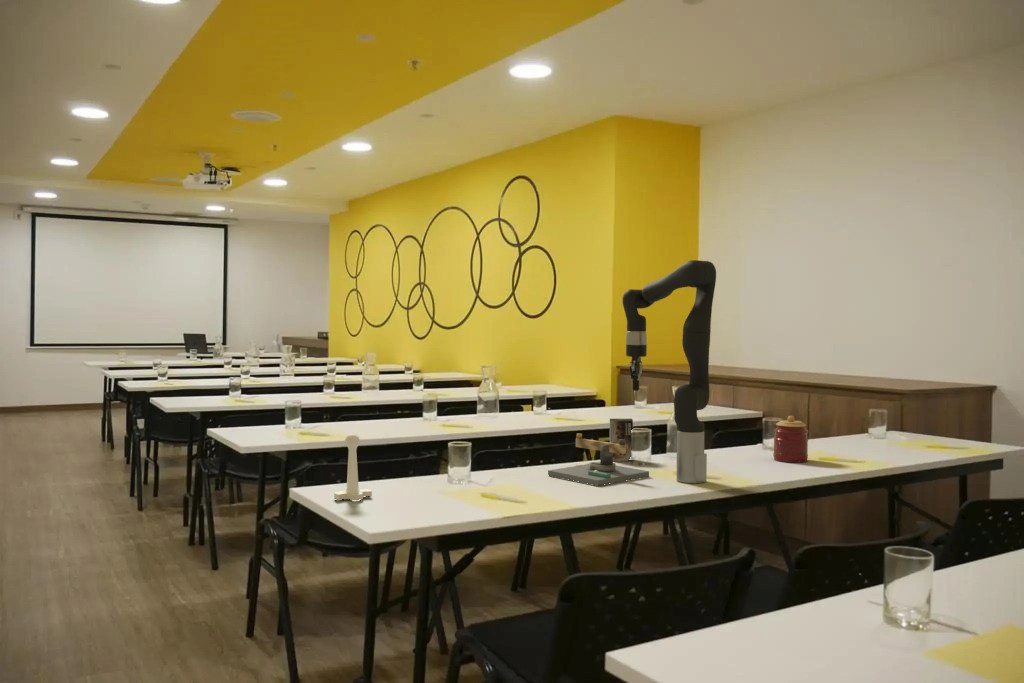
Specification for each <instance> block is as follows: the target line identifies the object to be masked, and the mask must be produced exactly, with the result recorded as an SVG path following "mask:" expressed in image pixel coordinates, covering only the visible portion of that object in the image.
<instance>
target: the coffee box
mask: <svg viewBox="0 0 1024 683" xmlns="http://www.w3.org/2000/svg"><path fill="white" fill-rule="evenodd" d="M632 429H633V430H634V421H633V418H609V443H616V444H619V439H625V445H626V454H618V453H613V462H629V461H628V460H629V459H630V457H631V430H632Z"/></svg>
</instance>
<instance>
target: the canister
mask: <svg viewBox="0 0 1024 683" xmlns="http://www.w3.org/2000/svg"><path fill="white" fill-rule="evenodd" d="M775 426H776V428H774V429H773V432H774V437H773V459H774V460H775V461H777V462H781V463H794V464H795V463H796V464H797V463H798V464H799V463H806V462H808V459H809V457H808V456H809V454H808V453H809V452H808V449H809V448H808V446H809V444H808V443H809V438H808V433H809V430H808V429H807V428H806V426H807V424H806V423H804V422H803V421H801V420H795V416H794V415H789V416H788V417H787V419H786V420H785V419H784V420H783V419H782V420H780V421H779V422H776V423H775ZM774 460H773V461H774Z"/></svg>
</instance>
